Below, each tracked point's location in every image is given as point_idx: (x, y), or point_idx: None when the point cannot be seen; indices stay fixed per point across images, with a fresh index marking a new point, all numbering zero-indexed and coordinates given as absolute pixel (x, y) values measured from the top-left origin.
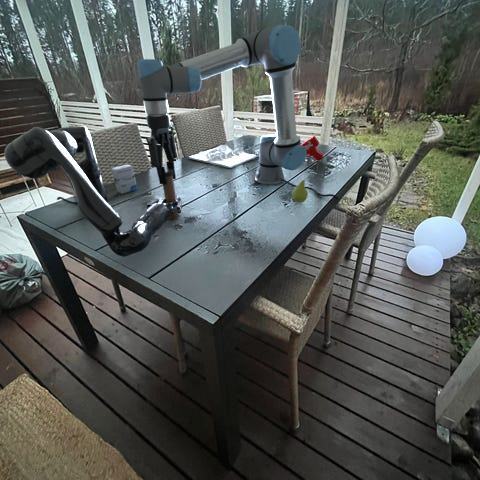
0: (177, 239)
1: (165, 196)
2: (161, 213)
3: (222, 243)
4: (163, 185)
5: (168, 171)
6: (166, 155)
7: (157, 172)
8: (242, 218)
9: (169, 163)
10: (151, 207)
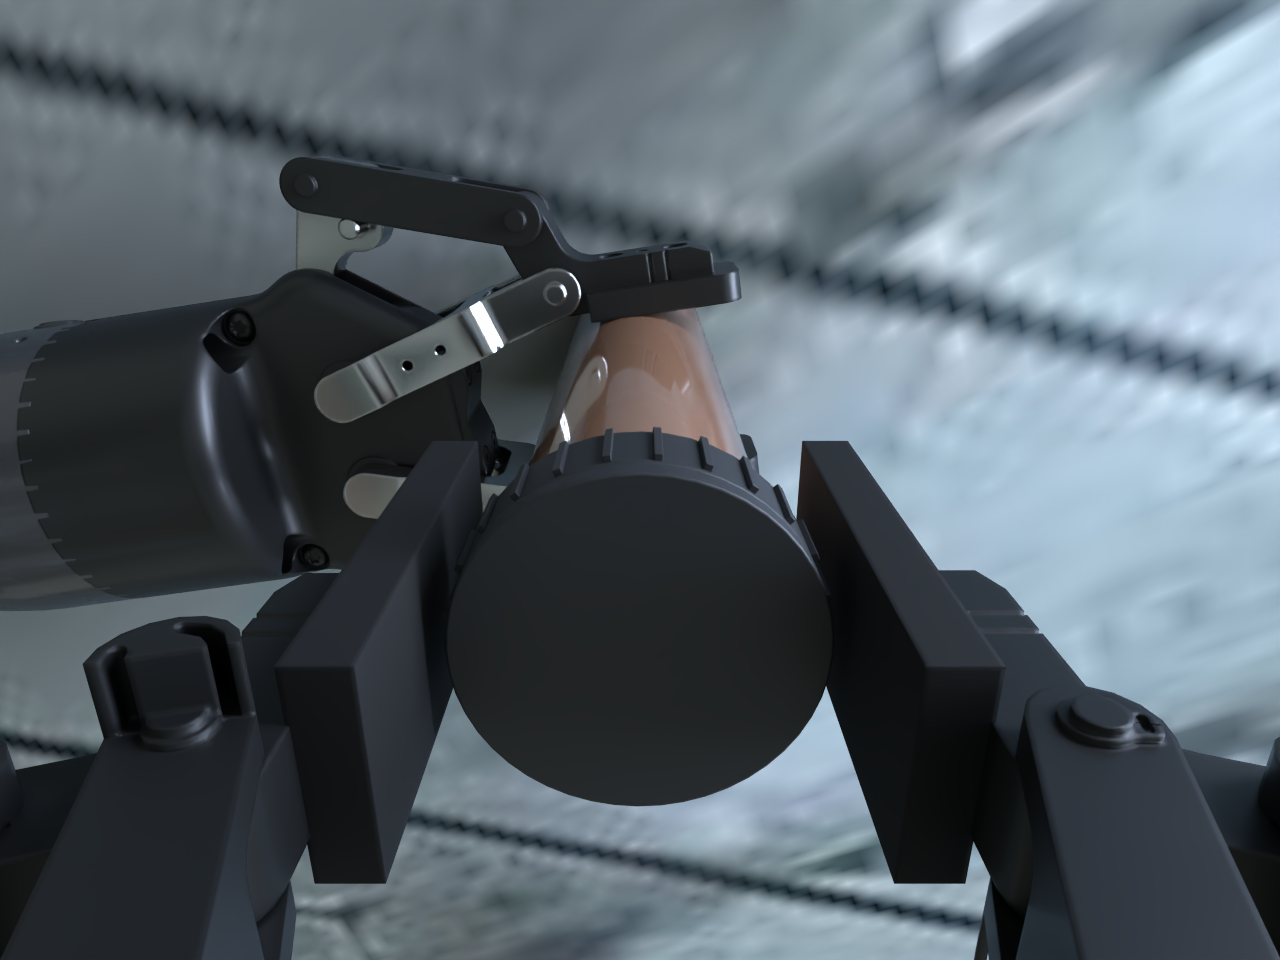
0: (250, 614)
1: (559, 378)
2: (109, 600)
3: (375, 922)
4: (542, 434)
5: (572, 752)
6: (1056, 910)
7: (245, 637)
8: (804, 929)
9: (895, 748)
10: (40, 483)
